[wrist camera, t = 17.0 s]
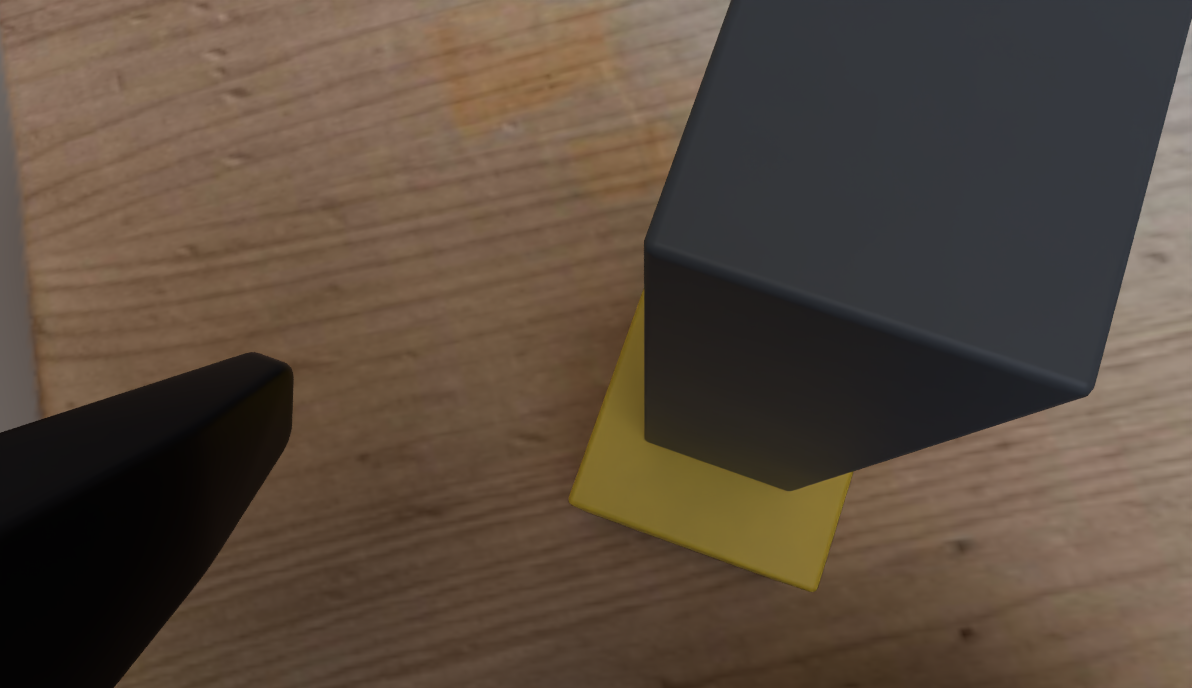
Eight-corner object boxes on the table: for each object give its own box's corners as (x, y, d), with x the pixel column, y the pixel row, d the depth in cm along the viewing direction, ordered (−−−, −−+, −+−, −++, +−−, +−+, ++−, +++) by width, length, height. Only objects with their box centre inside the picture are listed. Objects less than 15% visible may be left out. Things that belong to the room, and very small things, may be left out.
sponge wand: (779, 582, 18) (1201, 720, 4) (582, 510, 19) (407, 432, 5) (855, 339, 19) (1405, -180, 5) (665, 276, 19) (715, -350, 6)
